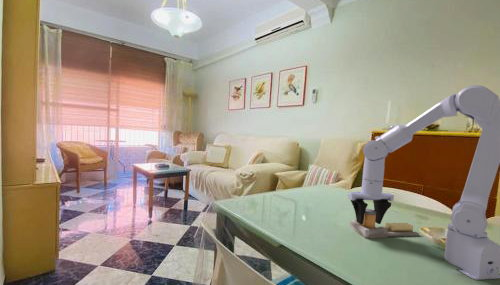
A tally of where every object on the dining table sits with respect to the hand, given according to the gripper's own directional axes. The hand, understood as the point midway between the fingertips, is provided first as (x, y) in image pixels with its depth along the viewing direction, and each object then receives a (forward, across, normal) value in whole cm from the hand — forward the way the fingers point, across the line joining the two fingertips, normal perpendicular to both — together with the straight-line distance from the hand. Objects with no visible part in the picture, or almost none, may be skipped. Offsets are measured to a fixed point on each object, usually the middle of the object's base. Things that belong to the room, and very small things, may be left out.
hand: (368, 222), depth 73 cm
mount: (+4, -7, 0) cm, 8 cm away
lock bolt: (+3, -11, 0) cm, 12 cm away
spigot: (+3, 0, 0) cm, 3 cm away
